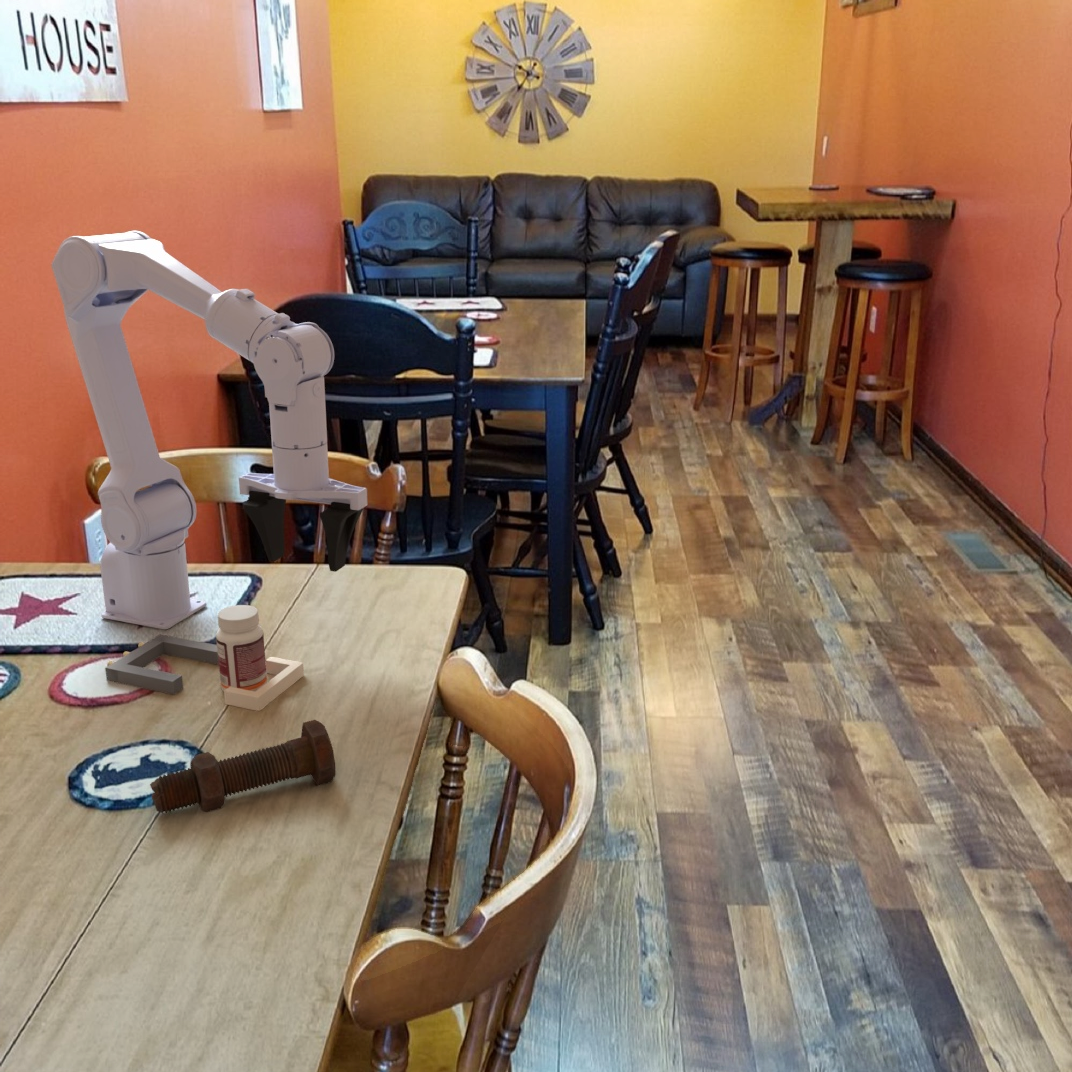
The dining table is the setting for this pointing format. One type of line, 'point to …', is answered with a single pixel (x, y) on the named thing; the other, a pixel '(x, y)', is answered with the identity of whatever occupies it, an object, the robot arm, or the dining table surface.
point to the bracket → (267, 685)
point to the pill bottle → (241, 648)
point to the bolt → (247, 771)
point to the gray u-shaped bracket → (133, 662)
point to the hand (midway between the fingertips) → (306, 563)
